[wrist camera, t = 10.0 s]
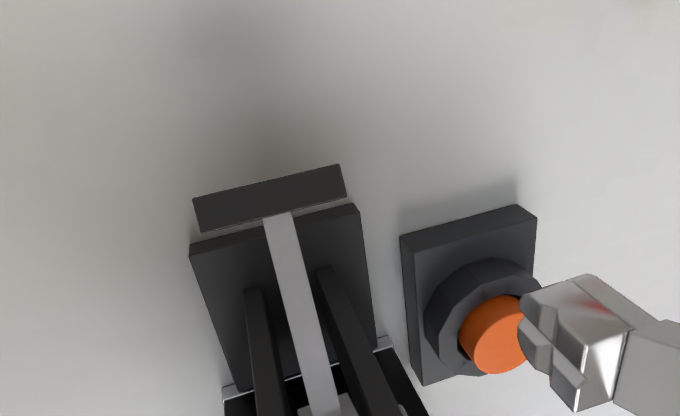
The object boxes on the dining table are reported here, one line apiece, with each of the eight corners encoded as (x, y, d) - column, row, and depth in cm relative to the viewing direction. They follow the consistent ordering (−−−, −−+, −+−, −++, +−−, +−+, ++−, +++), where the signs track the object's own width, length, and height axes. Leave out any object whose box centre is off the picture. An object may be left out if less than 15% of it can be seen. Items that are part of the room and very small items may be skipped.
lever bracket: (188, 244, 22) (172, 450, 12) (353, 202, 24) (463, 353, 14) (236, 377, 27) (254, 608, 17) (372, 335, 29) (464, 522, 18)
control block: (399, 235, 26) (429, 272, 22) (517, 203, 27) (562, 233, 24) (410, 365, 31) (436, 412, 27) (509, 332, 32) (546, 372, 29)
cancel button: (457, 306, 24) (474, 327, 23) (525, 285, 25) (545, 303, 24) (458, 361, 26) (473, 383, 25) (521, 340, 27) (539, 360, 26)
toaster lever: (198, 199, 17) (188, 197, 15) (331, 167, 18) (342, 161, 16) (274, 487, 17) (276, 531, 15) (399, 441, 18) (420, 475, 16)
